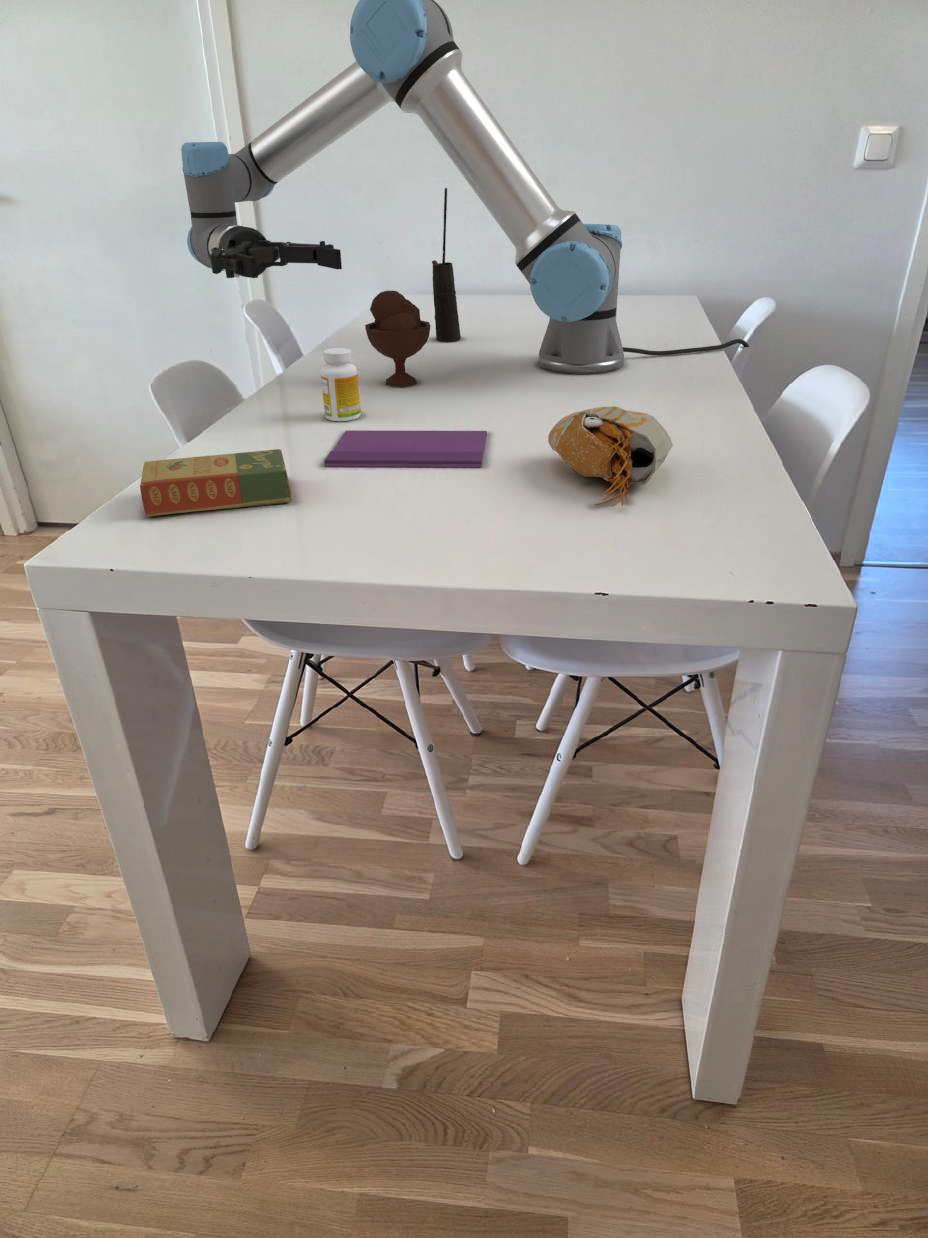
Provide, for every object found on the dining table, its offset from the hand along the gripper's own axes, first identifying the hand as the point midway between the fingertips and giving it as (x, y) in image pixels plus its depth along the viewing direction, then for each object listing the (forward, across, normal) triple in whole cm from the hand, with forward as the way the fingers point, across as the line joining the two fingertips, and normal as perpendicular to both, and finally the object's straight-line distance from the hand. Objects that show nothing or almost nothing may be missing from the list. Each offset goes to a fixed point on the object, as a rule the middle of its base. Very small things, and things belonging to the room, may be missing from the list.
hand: (297, 263), depth 123 cm
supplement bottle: (+10, 0, -21) cm, 23 cm away
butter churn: (-27, -44, -21) cm, 55 cm away
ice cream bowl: (-2, -18, -21) cm, 27 cm away
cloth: (+29, 0, -20) cm, 36 cm away
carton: (+30, +27, -21) cm, 46 cm away
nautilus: (+54, -11, -20) cm, 59 cm away
